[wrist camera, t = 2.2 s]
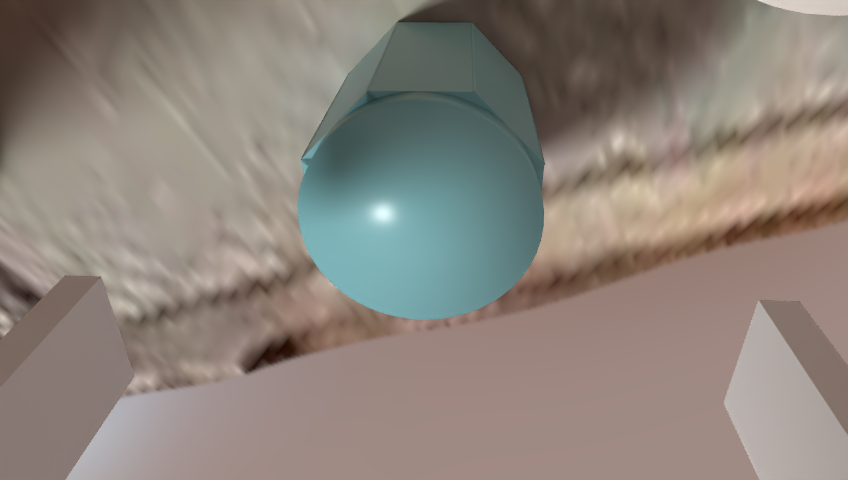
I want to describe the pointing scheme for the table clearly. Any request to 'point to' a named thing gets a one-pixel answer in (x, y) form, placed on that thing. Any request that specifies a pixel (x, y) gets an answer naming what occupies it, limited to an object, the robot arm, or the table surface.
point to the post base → (812, 6)
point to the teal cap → (425, 176)
